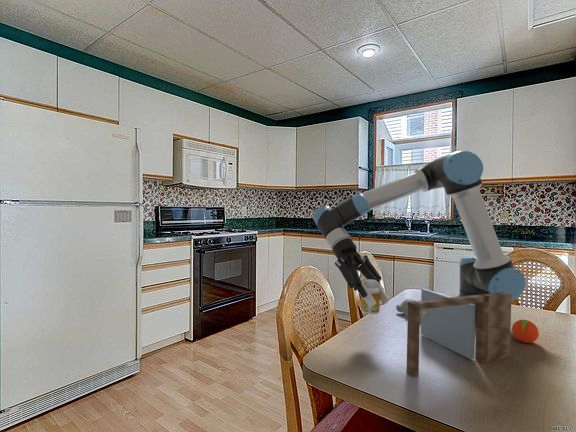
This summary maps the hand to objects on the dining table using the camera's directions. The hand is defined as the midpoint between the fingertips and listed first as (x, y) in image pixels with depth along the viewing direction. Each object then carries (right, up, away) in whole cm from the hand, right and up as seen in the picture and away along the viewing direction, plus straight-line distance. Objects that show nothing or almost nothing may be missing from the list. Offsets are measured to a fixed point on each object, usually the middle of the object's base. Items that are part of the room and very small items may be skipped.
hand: (380, 303), depth 97 cm
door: (+20, -13, +1) cm, 24 cm away
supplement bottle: (-2, -4, +3) cm, 5 cm away
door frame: (+19, -13, -10) cm, 25 cm away
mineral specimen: (+21, -13, +28) cm, 37 cm away
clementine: (+47, -14, +5) cm, 49 cm away
